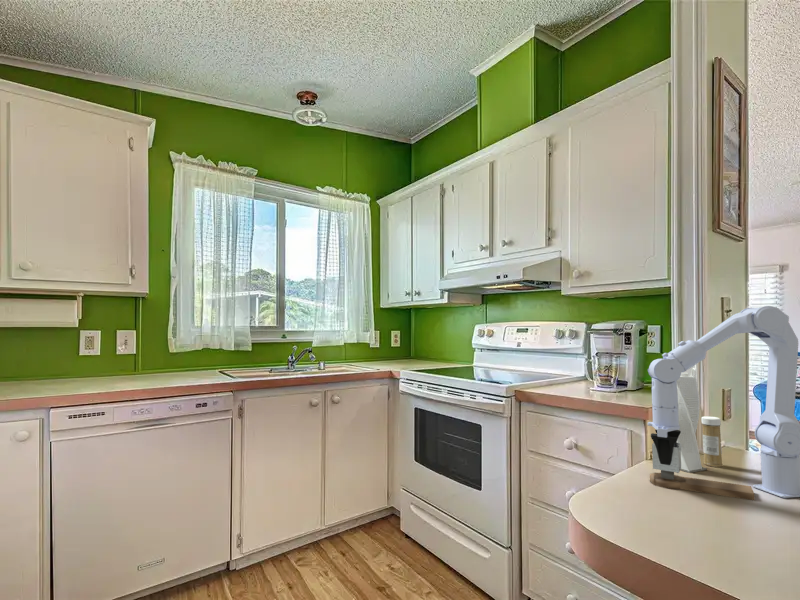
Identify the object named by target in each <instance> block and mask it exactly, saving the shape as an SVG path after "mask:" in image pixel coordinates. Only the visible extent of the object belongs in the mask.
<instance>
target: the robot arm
mask: <svg viewBox="0 0 800 600" xmlns="http://www.w3.org/2000/svg"><path fill="white" fill-rule="evenodd" d="M745 333H746V334H747V333H749V334H751V335H753V336H755V337H757V338H758V339H760V340H761V341H762V342H764V344H766V345H767V346H768V349H769V350H768V363H767V364H768V365H767V380H766V396H765V397H766V398H765V410H764V411H763V413H761V415H760V416H759V422H758V425H756V427H755V429H754V437H755V439H756V441H757V442H758V443H759V444H760V468H761V469H760V470H761V483H759V484H753V485H752V487H753V488H755V489H758V490H761V491H763V492H766V493H769V494H771V495H775V496H777V497H780V498H783V499H787V498H789V499H790V498H800V422H799V421H798V419H797V417H796V415H795V408H796V393H797V390H796V389H797V388H796V387H797V376H798V375H797V373H798V360H799V359H798V358H799V357H798V356H799V355H798V354H799V353H798V352H799V339H798V336H797V334H796V333H795V331H794V330H793V328H792V326H791V324H790V317H789V315H787V314H786V313H785V312H784V311H782V310H781V309H780V308H778V307H776V306H773V305H764V306H761V307H746V308H744V309H742V310H740V312H737V313H734V314H732V315H731V316H730V317H728V318H727V319H726V320H723V321H722V322H721V323H719V325H717V326H716V327H714V328H713V329H711V330H709V332H707V333H706V334H704V335H703V336H701V337H700V338H699V339H697V340H692V339H688V340H685V341H684V340H682V341H680V342H678V343H677V344H678V346H676V347H675V348H674V349H672V350H671V351H669V352H664V353H663V354H661V356H662V358H657V359H654V360H652V361H651V362H650V364H649V366H648V368H647V372H648V375H649V376H650V378H651V406H652V407H651V408H652V412H651V413H652V421H648V422H647V426H649V427H652V428H654V431H655V433H654V432H653V433H650V437H651V438H650V439H651V440H652V441H653V442H654V444H655V446H656V449H657V453H658V457H659V461H660V464H665V465H670V464H671V460H672V452H673V447H674V444H675V443H676V442H677V439H678V437H679V435H680V433H681V431H680V430H678V429H680V425H679V417H678V390H677V380H678V379H679V378H680V376H681V373H686V372H687V371H688V370H689V369H692V368H694V367H695V366H696V365H697V364H699V363H701V362H702V361H703V360H706V357H707V352H708V351H709V350H711V349H713V348H715V347H716V346H718V345H720V344H721V343H723V342H725V341H726V340H728V339H730V338H731V337H734V336H735V335H736V334H745Z"/></svg>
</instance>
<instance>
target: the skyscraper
mask: <svg viewBox="0 0 800 600" xmlns="http://www.w3.org/2000/svg"><path fill="white" fill-rule="evenodd" d="M677 390H678V417H679V425H680V429H678V430H680V431H681V433H680V435H679V437H678V439H677V442H676V443H681V469H680V471H682V472H685V473H688V474H691V473H696V472H701V471H702V472H703V471H707V467H703V466H702V461H701V455H700V450H699V446H698V445H699V444H698V441H697V440H698V439H697V437H696V433H697V428H698V425H699V418H700V404H701V403H700V394H699V386H698V380H697V369H696V368H695V367H692V368H691V370H690V373H689V372H683V373H681V376H680V378H679V379H678V380H677Z"/></svg>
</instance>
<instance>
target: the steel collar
mask: <svg viewBox="0 0 800 600" xmlns="http://www.w3.org/2000/svg"><path fill="white" fill-rule="evenodd" d="M651 446H652V449H651V450H652V455H651V457H652V469H653V470H659V471H661V470H664V471H671V472H674V473H677V474H680V471H681V470H680V469H681V443H675V444H674V447H673V452H672V460H671V464H670V465H665V464H660V461H659V457H658V453H657V449H656V446H655V444H654V442H653V443H652V444H651Z"/></svg>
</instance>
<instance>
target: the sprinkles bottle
mask: <svg viewBox="0 0 800 600" xmlns="http://www.w3.org/2000/svg"><path fill="white" fill-rule="evenodd" d="M721 422H722V421H721V418H720V417H717V416H707V415H705V416H701V425H702V448H703V449H702V450H703V464H704V465H706V466H709V467H713V468H721V467H723V457H722V454H723V451H722V450H723V449H722V443H721V442H722V437H721V435H722V434H721V425H722V424H721Z"/></svg>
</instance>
